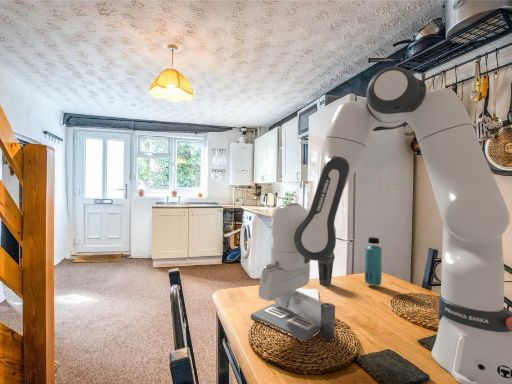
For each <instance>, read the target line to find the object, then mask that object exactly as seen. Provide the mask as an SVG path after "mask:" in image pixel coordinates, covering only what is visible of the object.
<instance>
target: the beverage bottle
mask: <svg viewBox="0 0 512 384" xmlns="http://www.w3.org/2000/svg"><path fill="white" fill-rule="evenodd" d="M367 241H368V243H369V244H368V245H366V247H365V254H364V255H365V256H364V257H365V258H364V262H365V263H364V264H365V265H364V281H365V284H368V285H372V286H380V285H382V277H383V275H382V251H383V249H382V248H381V246H379V245H378V244H380V239H379V237H372V236H371V237H368V240H367ZM376 244H377V245H376Z"/></svg>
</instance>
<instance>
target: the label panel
mask: <svg viewBox="0 0 512 384" xmlns="http://www.w3.org/2000/svg"><path fill="white" fill-rule="evenodd" d="M250 319H252V320H254V321H256V320H260V321H263V322H265V323H268V324H270V325H272V326H274V327H277V328H279V329H281V330H283V331H285V332H287V333H289V334H291V335H293V336H294V337H296V338H298V339H300V340H302V341H304V342H305V341H306V340H308V339H309V338H311V337H312V336H313V335H314V334H316V333H317V332H318V331H319V330H320V326H318V325H316V324H314V323H313V322H311V321H309V320H307V319H305V318H304V317H302V316H300V315H298V314H296V313H294V312H293V311H291V310H289V309H287V308H285V309H284V308H282V307H281V305H280V304H278V303H276V302H275V303H273V304H270V305H268V306H266V307H264V308H261V309H259V310H256V311H254V312H252V313H250ZM312 338H313V337H312ZM312 338H311V339H312ZM302 341H301V342H302ZM308 341H309V340H308ZM304 342H303V343H304ZM305 343H306V342H305Z"/></svg>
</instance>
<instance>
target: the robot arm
mask: <svg viewBox="0 0 512 384" xmlns="http://www.w3.org/2000/svg"><path fill="white" fill-rule="evenodd" d="M406 124H409V126H411V128H412V130H413V131H414V133H415V134H414V135H415V138H416V141H417V143H418V147H419V150H420V154H421V157H422V159H423V162H424V166H425V169H426V171H427V175H428V177H429V181H430V184H431V189H432V191H433V196H434V198H435V202H436V205H437V208H438V211H439V216H440V218H441V221H442V225H443V227H442V229H443V230H442V248H441V249H442V250H441V251H442V253H441V282H440V283H441V284H440V295H438V300H437V315H438V321H439V322H438V328H437V333H436V338H435V342H434V345H433V347H432V349H431V357H432V359H434V361H435V363H437V364H438V365H439V366H441V368H443V369H444V370H446V371H447V372H448V373H450V374H451V375H452V377H453V378H454V379H455V381H457V382H458V383H459V384H512V310H509V309H508V308H507V307H505V306H504V305H505V265H504V250H503V249H504V247H503V234H504V233H505V232H506V231H507V229H508V227H509V225H510V221H511V217H510V216H511V215H510V211H509V208H508V206H507V204H506V202H505V199H504V197H503V195H502V194H503V193H502V192H501V189H500V188H499V185H498V183H497V181H496V178H495V176H494V174H493V172H492V170H491V168H490V165H489V163H488V161H487V159H486V157H485V154H484V151H483V149H482V145H481V143H480V141H479V138H478V135H477V132H476V130H475V128H474V124H473V122H472V119H471V117H470V115H469V112H468V111H467V109H466V107H465V105H464V103H463V102H462V100H461V99H460V98H459V96H458V95H457V94H456V92H455V90H453V89H451V88H447V87H439V88H434V89H430V90H427V84H426V83H425V82H424V81H422V80H420V79H419V78H418V77H416V76H415V75H414V74H413V73H412V72H411V71H410V70H408V69H406V68H404V67H402V66H396V65H394V66H388V67H384V68H382V69H381V70H379V71H378V72H377V73H375V75H373V77H372V78H371V79H370V81H369V83H368V86H367V89H366V99H364V100H361V101H354V100H352V101H345V102H343V103H342V104H340V105H339V106H338V107H337V108H336V111H335V112H334V114H333V116H332V119H331V121H330V123H329V125H328V128H327V132H326V133H325V134H326V135H325V137H324V141H323V145H322V149H321V155H320V156H321V157H320V158H321V159H320V169H319V172H320V173H319V179H318V183H317V187H316V190H315V193H314V196H313V199H312V203H311V206H310V209H307V208H305V207H303V206H302V204H300V203H297V202H295V203H294V202H293V203H287V204H282V205H279V206H277V207H275V209H274V210H273V213H272V214H273V215H272V221H271V222H272V223H271V237H272V243H271V246H270V247H271V249H270V250H271V252H270V256H271V257H270V263H268V264H266V265H265V266H264V268H263V269H262V270H261V274H260V278H259V285H258V297H259V298H260V299H261V300H265V301H267V302H271V301H273V299H276V298H278V297H279V299H280V301H281V307H282V308H284V309H285V308H287V307H289V306H290V300H291V297H292V294H293V291H294V290H296V289H298V288H303V287H305V286H307V285H308V284H309V282H310V277H311V276H310V275H311V265H310V262H311V261H318V260H323V259H325V258H327V257H328V256H330V255H331V254H332V252H334V250H335V247H336V244H337V243H336V242H337V240H336V239H337V238H336V237H337V230H336V226H335V220H336V217H337V213H338V209H339V205H340V202H341V199H342V195H343V193H344V190H345V188H346V186H347V184H348V182H349V181H350V179H351V178H352V177H353V175H354V174H355V173H356V171H357V169H358V167H359V165H360V164H361V162H362V159H363V157H364V154H365V151H366V150H367V145H368V141H369V138H370V135H371V134H372V131H373V132H377V131H386V130H387V131H389V130H395V129H398V128H401V127H403V126H404V125H406Z"/></svg>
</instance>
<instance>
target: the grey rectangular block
mask: <svg viewBox="0 0 512 384" xmlns="http://www.w3.org/2000/svg"><path fill="white" fill-rule="evenodd" d="M272 301H273V302H275V303H278V304H280V305H281V301H280V299H279V297H278V298H276V299H273V300H272ZM287 309H289V310H291V311H293V312H294V313H296V314H298V315H300V316H302V317H304V318H305V319H307V320H309V321H311V322H313V323H314V324H316V325H318V326H320V333H319V334H320V335H319V338H320V337H321V338H322V339H321V338H320V339H321V340H323V339H325V340H333V339H334V338H335V337H336V335H335V333H336V332H335V330H336V328H335V327H336V326H335V325H336V306H335V305H334V304H332V303H329V302H323V301H321V300H319V301H318V300H316V299H314V298H312V297H310V296H307V295H305V294H303V293H301V292H298V291H296V290H294V291H293V294H292V297H291V300H290V306H289V307H287ZM325 340H324V341H325ZM334 340H335V339H334ZM334 340H333V341H334Z"/></svg>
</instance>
